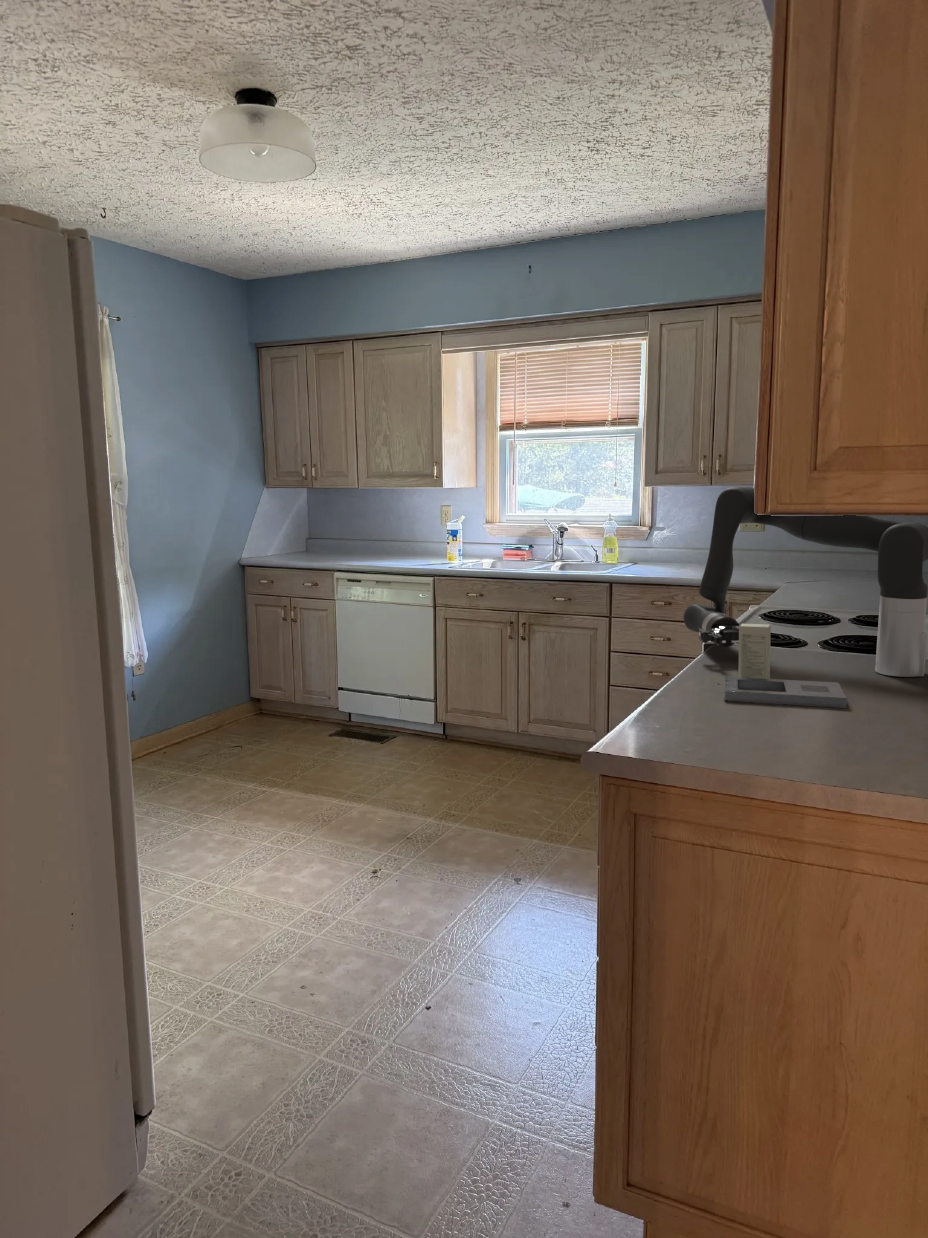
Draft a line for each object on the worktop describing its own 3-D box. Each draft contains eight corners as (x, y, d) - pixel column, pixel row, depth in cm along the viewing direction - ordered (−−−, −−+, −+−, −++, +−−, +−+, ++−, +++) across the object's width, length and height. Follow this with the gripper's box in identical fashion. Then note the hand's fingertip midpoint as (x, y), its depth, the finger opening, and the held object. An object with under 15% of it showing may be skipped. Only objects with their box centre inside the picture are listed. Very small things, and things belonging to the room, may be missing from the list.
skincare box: (770, 679, 183) (772, 624, 181) (768, 683, 179) (770, 627, 177) (739, 677, 185) (741, 622, 184) (736, 681, 182) (738, 625, 180)
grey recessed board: (837, 692, 171) (838, 682, 171) (846, 708, 159) (846, 698, 158) (724, 686, 177) (724, 676, 177) (724, 701, 165) (724, 691, 165)
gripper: (692, 614, 208) (708, 625, 192) (750, 613, 207) (771, 624, 191) (691, 644, 209) (707, 657, 193) (749, 643, 208) (770, 657, 192)
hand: (739, 641), depth 192 cm, fingers open, 8 cm apart
